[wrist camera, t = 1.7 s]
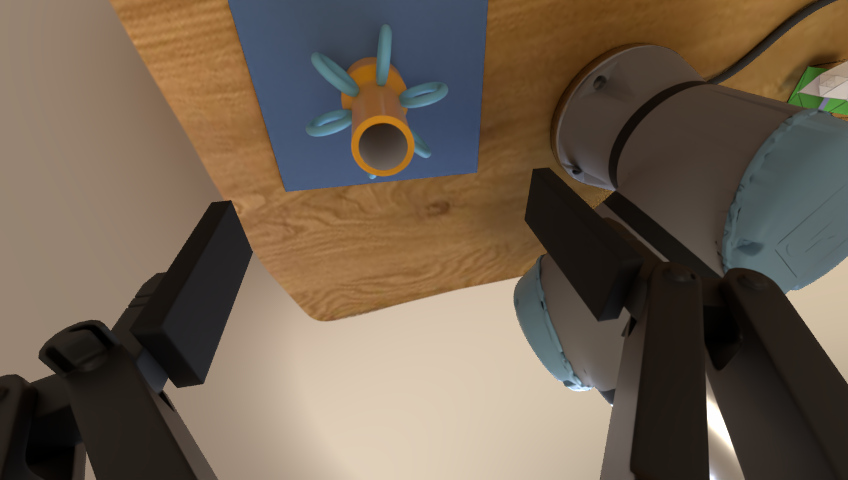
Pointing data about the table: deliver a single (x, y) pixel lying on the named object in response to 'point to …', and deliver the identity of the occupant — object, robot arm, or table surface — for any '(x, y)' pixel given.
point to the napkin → (345, 44)
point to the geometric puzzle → (823, 89)
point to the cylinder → (375, 109)
